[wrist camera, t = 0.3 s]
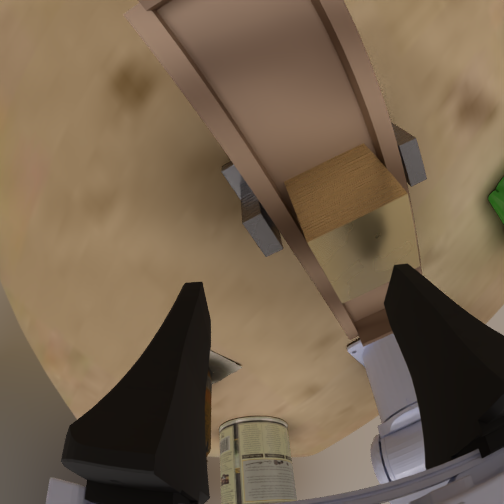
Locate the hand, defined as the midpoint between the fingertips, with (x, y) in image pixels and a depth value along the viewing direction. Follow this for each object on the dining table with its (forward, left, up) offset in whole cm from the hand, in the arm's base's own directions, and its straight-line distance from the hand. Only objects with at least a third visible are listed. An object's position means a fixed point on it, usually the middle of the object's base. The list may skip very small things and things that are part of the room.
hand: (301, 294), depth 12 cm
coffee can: (-29, +25, -10) cm, 39 cm away
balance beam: (-1, -3, -7) cm, 7 cm away
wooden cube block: (-1, -3, -5) cm, 6 cm away
